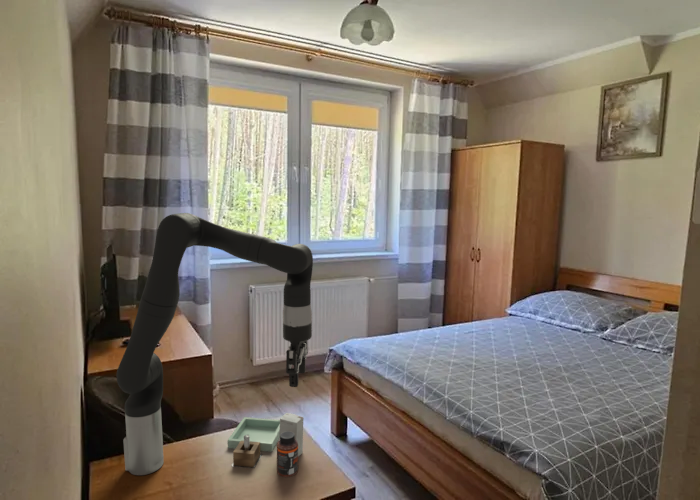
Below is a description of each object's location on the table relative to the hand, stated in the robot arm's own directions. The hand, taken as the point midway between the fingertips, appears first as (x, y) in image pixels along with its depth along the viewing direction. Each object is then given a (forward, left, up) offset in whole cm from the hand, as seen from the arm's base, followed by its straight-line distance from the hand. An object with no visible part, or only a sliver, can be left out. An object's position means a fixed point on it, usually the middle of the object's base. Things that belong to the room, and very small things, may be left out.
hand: (297, 379), depth 120 cm
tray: (-18, +18, -29) cm, 38 cm away
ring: (-17, +6, -28) cm, 34 cm away
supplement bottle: (-4, +3, -29) cm, 30 cm away
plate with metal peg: (-17, +6, -29) cm, 34 cm away
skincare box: (-5, +11, -29) cm, 32 cm away
